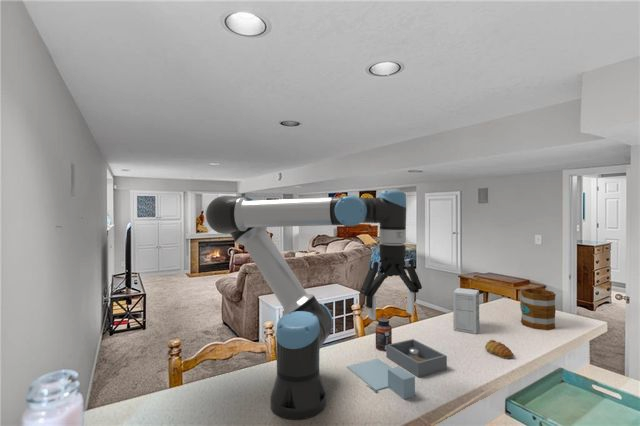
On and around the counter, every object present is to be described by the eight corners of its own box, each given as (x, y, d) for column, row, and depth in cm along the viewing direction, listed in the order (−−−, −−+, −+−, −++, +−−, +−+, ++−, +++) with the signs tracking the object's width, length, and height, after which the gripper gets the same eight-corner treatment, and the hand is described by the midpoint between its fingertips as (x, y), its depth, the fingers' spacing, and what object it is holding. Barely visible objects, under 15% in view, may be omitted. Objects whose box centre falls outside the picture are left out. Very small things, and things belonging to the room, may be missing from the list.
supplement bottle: (391, 353, 125) (391, 322, 125) (375, 352, 126) (375, 321, 126) (391, 347, 131) (391, 317, 131) (375, 345, 132) (375, 316, 132)
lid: (391, 405, 92) (390, 383, 92) (346, 369, 113) (346, 351, 113) (426, 394, 98) (426, 373, 98) (377, 361, 119) (377, 344, 119)
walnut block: (418, 373, 109) (418, 363, 109) (407, 368, 112) (407, 359, 112) (425, 369, 111) (425, 360, 111) (415, 365, 114) (415, 356, 114)
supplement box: (480, 328, 150) (480, 289, 150) (476, 334, 143) (476, 294, 142) (457, 324, 156) (457, 287, 155) (452, 330, 148) (452, 291, 147)
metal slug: (413, 360, 118) (413, 351, 118) (406, 356, 121) (406, 348, 121) (421, 358, 119) (421, 349, 119) (414, 354, 122) (414, 346, 122)
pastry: (518, 358, 121) (518, 347, 121) (503, 361, 118) (503, 350, 118) (496, 348, 130) (496, 338, 129) (482, 350, 127) (482, 340, 127)
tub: (418, 379, 106) (418, 363, 106) (386, 359, 120) (386, 344, 120) (446, 371, 111) (446, 355, 111) (413, 352, 126) (413, 338, 126)
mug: (563, 330, 147) (563, 295, 147) (531, 330, 147) (531, 295, 147) (535, 315, 167) (535, 285, 166) (507, 315, 167) (507, 285, 167)
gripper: (362, 246, 91) (361, 325, 92) (434, 243, 102) (433, 314, 102) (348, 244, 98) (348, 317, 99) (417, 241, 108) (416, 307, 109)
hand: (391, 316), depth 100 cm, fingers open, 13 cm apart
